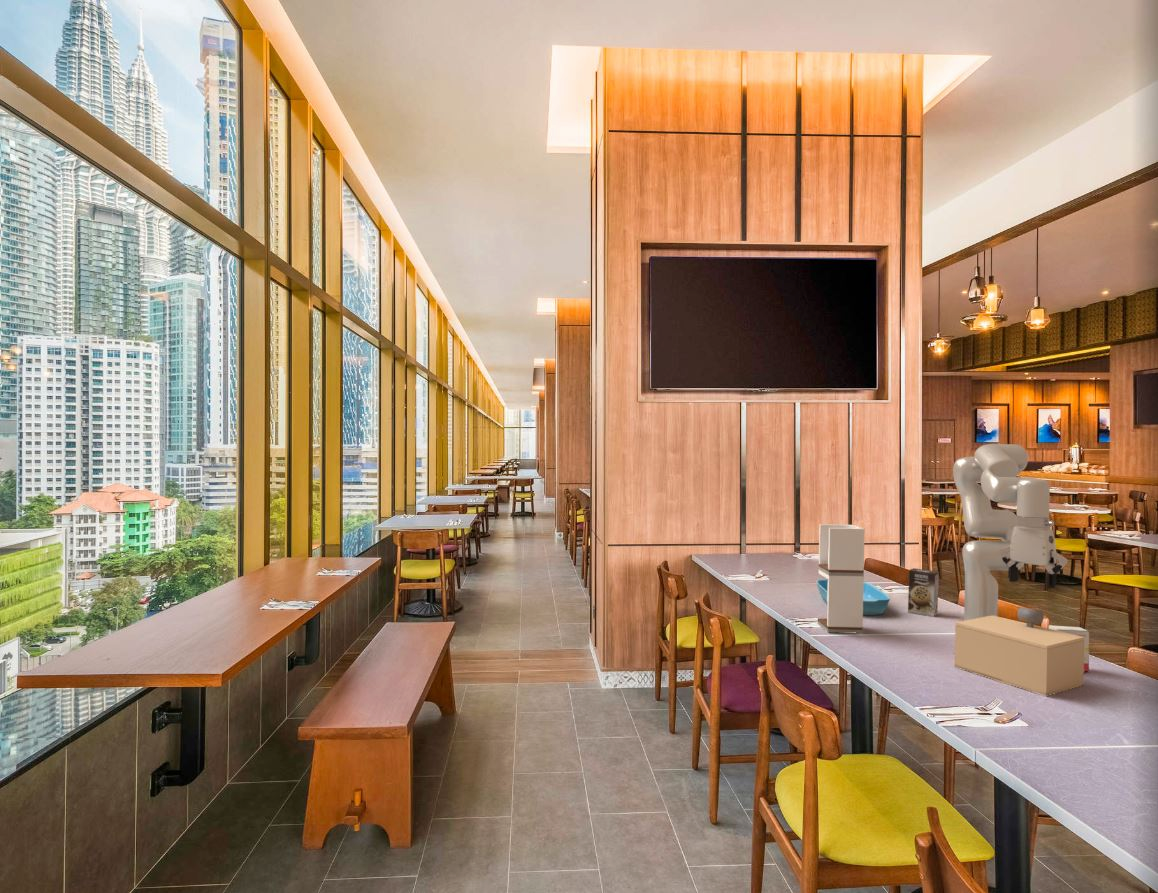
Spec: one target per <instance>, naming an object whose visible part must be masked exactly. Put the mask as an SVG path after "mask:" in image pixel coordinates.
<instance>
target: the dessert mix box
mask: <svg viewBox="0 0 1158 893" xmlns="http://www.w3.org/2000/svg"><path fill="white" fill-rule="evenodd" d="M939 575H940V572H939V571H936V570H928V569H923V568H922V569H920V568H915V567H914V568H910V569H909V571H908V596H907V597H908V598H907V601H908V602H907V613H911V614H915V613H916V615H920V614H922V615H921V616H926V615H928V616H927V617H932V616H934V615H935V616H936V614H937V613H938V614H939V612H938V606H939V605H938V604H939V582H940V580H939V578H940V577H939ZM938 614H937V615H938ZM935 616H934V617H935Z"/></svg>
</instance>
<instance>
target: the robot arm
mask: <svg viewBox="0 0 1158 893" xmlns="http://www.w3.org/2000/svg"><path fill="white" fill-rule="evenodd" d="M1028 462H1029V455H1028V452H1027V450H1026V449H1025V448H1024V447H1023V446H1022V445H1020V444H1011V443H1010V444H1009V443H1008V444H1007V443H990V444H989V443H988V444H983V445H981V446H979V447H978V448H977V449H976V450H975V451H974V456H965V457H960V458H958V459H957V460H956V461H954V463H953V467H952V476H953V481H954V485H955V487H956V489H957V491H958V493H959V496H960V500H961V508H962V517H963V523H964V525H963V526H964V530H965V533H966V534H967V535H968V536H970V537H975V538H985V539H986V538H987V539H988V538H989V539H1000V540H1001V541H997V540H996V541H995V540H982V539H981V540H978V539H977V540H971V541H968V542H966V543H965V544H964V545H963V546H962V550H961V551H962V560H963V567H964V609H963V610H964V614H963V621H966V620H971V619H976V618H981V617H987V616H992V615H993V616H998V617H999V615H998V612H999V611H998V610H999V609H998V607H999V606H998V604H999V603H998V602H999V584H998V580H997V579H996V578H995V577H994V576H993V575H992V573H991V572H990V571H1004V572H1006V571H1007V572H1008V573H1007V574H1008V582H1009V583H1010V582H1011V583H1015V582H1018V581H1019V570H1021V569H1022V568H1023V567H1024V564H1027V565H1033V566H1035V565H1036V566H1043V567H1044V569H1045V570H1046V571H1047V572H1048V573H1046V575H1045V578H1046V579H1045V588H1047V589H1055V588H1056V586H1057V574H1060V573H1059V572H1061V571H1062V570H1063V569H1065V566H1066V564H1067V563H1068V562H1069V560H1068V558H1066V557H1064V556H1063V555H1061V554H1060V553H1058V552H1057V546H1056V541H1055V540H1056V539H1055V535H1054V531H1053V529H1051V526H1052V527H1053V526H1054V525H1055V521H1054V520H1051V518H1050V497H1051V496H1050V495H1051V494H1050V489H1051V488H1050V483H1049V481H1047V480H1046V479H1039V478H1037V477H1020V476H1018V475H1020V473H1022V472H1023V471H1024V470H1025V469H1026V468H1027V466H1028ZM978 482H980V484H979V483H978ZM991 501H993V502H995V503H1005V504H1006V503H1007V504H1008V503H1009V504H1010V503H1012V504H1016V514H1015V512H1013V511H1011V510H1007V509H993V508H992V505H991ZM1057 561H1058V563H1057ZM1055 564H1057V565H1055Z"/></svg>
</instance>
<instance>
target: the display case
mask: <svg viewBox="0 0 1158 893" xmlns="http://www.w3.org/2000/svg"><path fill="white" fill-rule="evenodd" d="M818 527H819V536H818V538H819V540H818V574H819V575H820V576H822V577H824V579H828V593H827V602H826V603H827V614H826V615H827V616H826V617H825V618H824V617H823V618H822V617H817V625H818V624H819V625H820V626H819V625H818V626H819V627H821V628H822V629H823V628H824V629H823V630H824V631H825V630H826V631H827V632H826V631H825V632H826V633H828V632H856V633H855V634H857V633H862V634H863V629H864V628H863V621H864V614H863V583H864V582H865V576H864V575H865V574H864V573H865V570H864V569H865V534H866V533H865V530H866V529H865V528H863V527H859V526H857V525H854V524H832V523H831V524H827V523H826V524H823V523H822V524H821V523H820V524H819V526H818Z"/></svg>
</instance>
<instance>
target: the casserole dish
mask: <svg viewBox="0 0 1158 893" xmlns="http://www.w3.org/2000/svg"><path fill="white" fill-rule="evenodd" d="M816 586H817V589H818V593H819V594H820V596H821V598H822V599H823V600H824V601H825V602H826V603H827V593H828V579H827V578H823V579H816ZM890 601H891V596H889V595H888V594H887V593H886V592H884V591H883V590H881V589H880V588H878V587H877V586H875V585H873V584H872V583H868V582H866V581H864V583H863V616H864V615H865V616H866V615H867V616H870V615H871V616H878V615H882V614H883V613H885V611H887V610H886V609H887V608H888V605H889V603H890Z"/></svg>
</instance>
